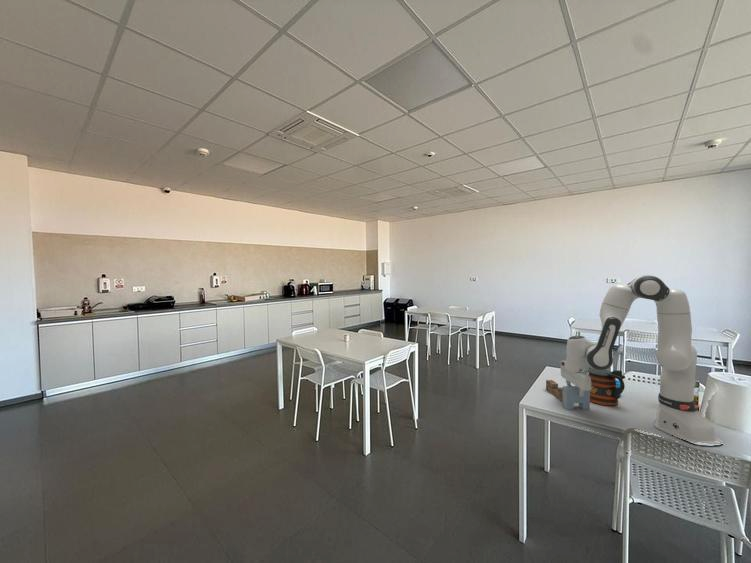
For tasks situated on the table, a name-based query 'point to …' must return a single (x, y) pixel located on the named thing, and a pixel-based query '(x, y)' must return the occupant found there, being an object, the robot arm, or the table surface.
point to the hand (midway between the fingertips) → (574, 392)
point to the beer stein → (605, 386)
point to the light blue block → (575, 397)
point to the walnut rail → (554, 389)
